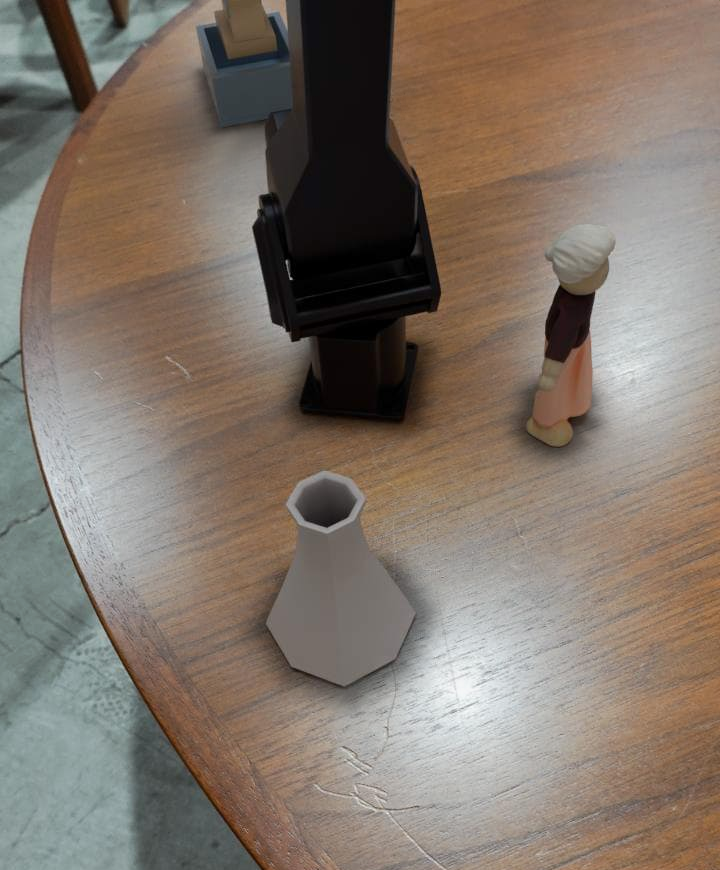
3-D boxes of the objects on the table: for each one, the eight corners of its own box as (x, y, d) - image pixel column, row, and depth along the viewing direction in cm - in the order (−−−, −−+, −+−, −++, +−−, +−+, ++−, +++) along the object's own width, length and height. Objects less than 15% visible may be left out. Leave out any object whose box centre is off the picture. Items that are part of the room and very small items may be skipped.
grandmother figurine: (587, 463, 51) (631, 281, 40) (519, 457, 51) (545, 276, 41) (589, 368, 55) (629, 182, 45) (526, 363, 56) (551, 179, 45)
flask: (441, 613, 46) (447, 491, 37) (345, 713, 43) (329, 604, 34) (337, 539, 49) (321, 411, 40) (241, 628, 46) (204, 509, 37)
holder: (306, 112, 74) (302, 63, 71) (221, 127, 73) (212, 79, 70) (284, 59, 79) (279, 11, 76) (204, 73, 78) (195, 25, 75)
